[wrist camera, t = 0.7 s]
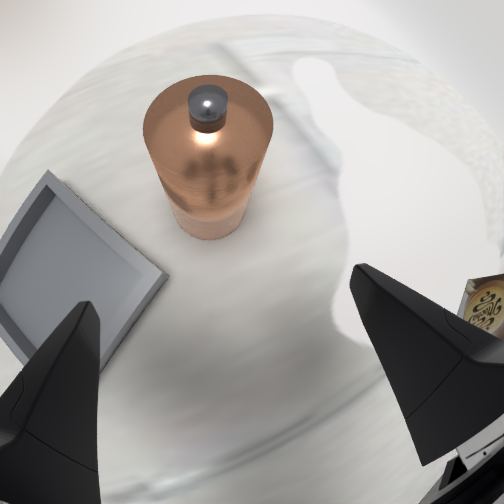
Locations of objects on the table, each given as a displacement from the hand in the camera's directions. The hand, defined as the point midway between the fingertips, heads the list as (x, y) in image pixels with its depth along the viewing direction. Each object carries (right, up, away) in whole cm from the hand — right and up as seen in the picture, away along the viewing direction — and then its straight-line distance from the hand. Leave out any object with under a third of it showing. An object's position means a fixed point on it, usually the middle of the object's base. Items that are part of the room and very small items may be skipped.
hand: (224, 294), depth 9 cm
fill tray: (-15, -2, +11) cm, 19 cm away
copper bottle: (-3, +5, +14) cm, 15 cm away
